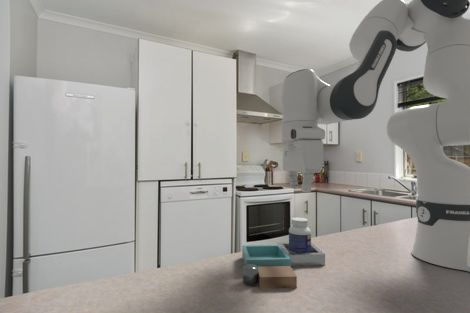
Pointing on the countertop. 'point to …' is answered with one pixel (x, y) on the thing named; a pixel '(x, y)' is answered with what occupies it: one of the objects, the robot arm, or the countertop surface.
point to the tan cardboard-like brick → (276, 277)
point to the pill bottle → (299, 236)
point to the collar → (305, 256)
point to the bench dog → (250, 274)
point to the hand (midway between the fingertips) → (299, 190)
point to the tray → (265, 255)
